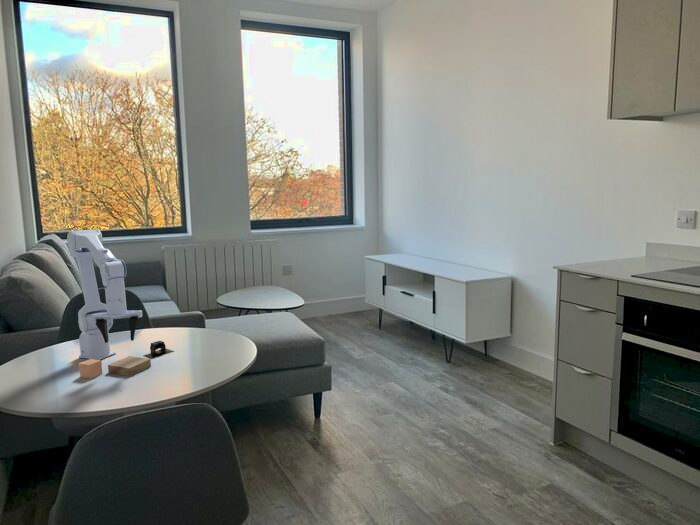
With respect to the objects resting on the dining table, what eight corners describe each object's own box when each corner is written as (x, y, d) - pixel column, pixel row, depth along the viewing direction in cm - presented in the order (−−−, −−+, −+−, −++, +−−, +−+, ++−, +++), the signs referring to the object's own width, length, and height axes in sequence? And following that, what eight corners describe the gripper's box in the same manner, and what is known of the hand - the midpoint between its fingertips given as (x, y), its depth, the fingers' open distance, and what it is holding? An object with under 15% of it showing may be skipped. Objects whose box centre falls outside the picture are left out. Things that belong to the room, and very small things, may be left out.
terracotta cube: (80, 377, 168) (78, 363, 168) (92, 372, 173) (90, 358, 172) (90, 378, 167) (89, 364, 166) (102, 373, 171) (101, 360, 170)
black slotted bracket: (147, 362, 183) (146, 348, 182) (136, 357, 187) (135, 345, 186) (179, 352, 192) (178, 339, 191) (168, 348, 197) (167, 336, 196)
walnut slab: (108, 374, 172) (107, 365, 171) (130, 364, 180) (129, 356, 179) (130, 377, 168) (129, 368, 168) (151, 367, 176) (150, 359, 176)
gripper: (87, 303, 164) (92, 346, 166) (138, 300, 167) (142, 342, 169) (93, 298, 171) (97, 340, 173) (141, 295, 174) (145, 336, 176)
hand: (119, 340), depth 172 cm, fingers open, 7 cm apart
